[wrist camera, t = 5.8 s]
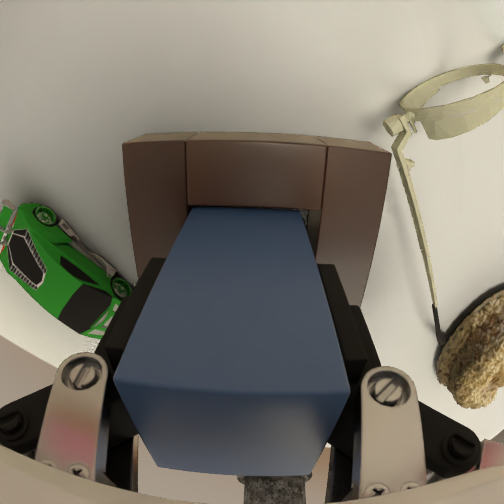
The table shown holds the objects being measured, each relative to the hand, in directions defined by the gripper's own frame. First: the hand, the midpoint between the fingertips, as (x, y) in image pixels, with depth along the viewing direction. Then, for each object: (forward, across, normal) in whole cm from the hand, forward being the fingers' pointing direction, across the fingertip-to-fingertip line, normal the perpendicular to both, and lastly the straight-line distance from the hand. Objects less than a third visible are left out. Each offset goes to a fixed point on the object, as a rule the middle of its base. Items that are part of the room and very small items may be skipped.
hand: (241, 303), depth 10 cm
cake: (+5, -18, +7) cm, 20 cm away
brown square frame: (+5, 0, 0) cm, 5 cm away
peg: (+3, 0, 0) cm, 3 cm away
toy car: (+5, +10, +3) cm, 11 cm away
